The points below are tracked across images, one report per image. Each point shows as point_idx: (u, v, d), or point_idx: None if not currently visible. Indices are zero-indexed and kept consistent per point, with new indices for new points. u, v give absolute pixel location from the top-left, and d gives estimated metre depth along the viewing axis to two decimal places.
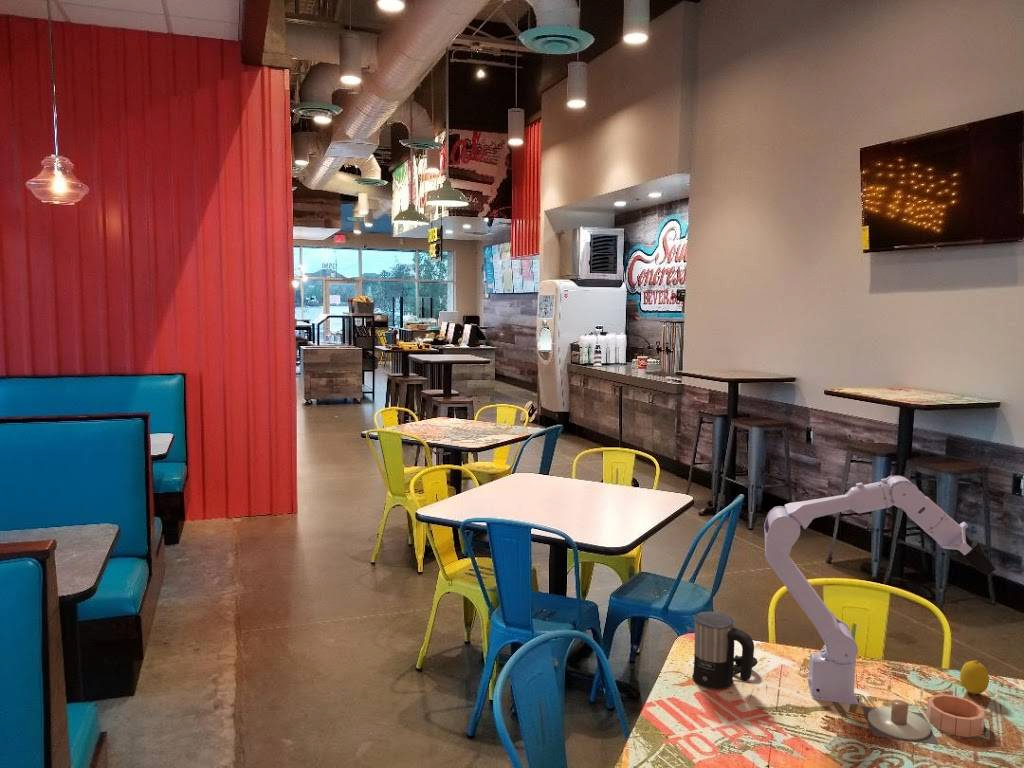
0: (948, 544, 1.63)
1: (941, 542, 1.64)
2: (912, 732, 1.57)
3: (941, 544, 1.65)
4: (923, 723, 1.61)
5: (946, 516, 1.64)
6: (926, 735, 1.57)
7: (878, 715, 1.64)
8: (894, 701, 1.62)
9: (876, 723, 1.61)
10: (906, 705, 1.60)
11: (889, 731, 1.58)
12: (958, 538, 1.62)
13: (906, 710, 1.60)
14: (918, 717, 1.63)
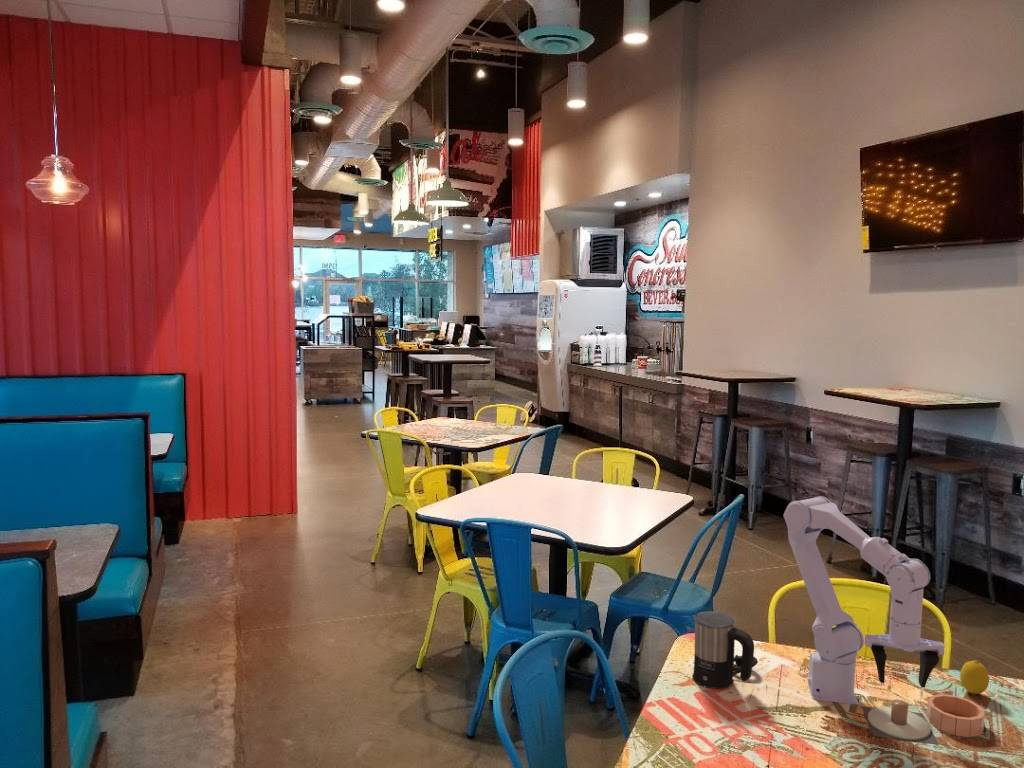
0: (888, 635, 1.62)
1: None
2: (912, 732, 1.57)
3: None
4: (923, 723, 1.61)
5: (900, 625, 1.57)
6: (926, 735, 1.57)
7: (878, 715, 1.64)
8: (894, 701, 1.62)
9: (876, 723, 1.61)
10: (906, 705, 1.60)
11: (889, 731, 1.58)
12: (888, 641, 1.60)
13: (906, 710, 1.60)
14: (918, 717, 1.63)
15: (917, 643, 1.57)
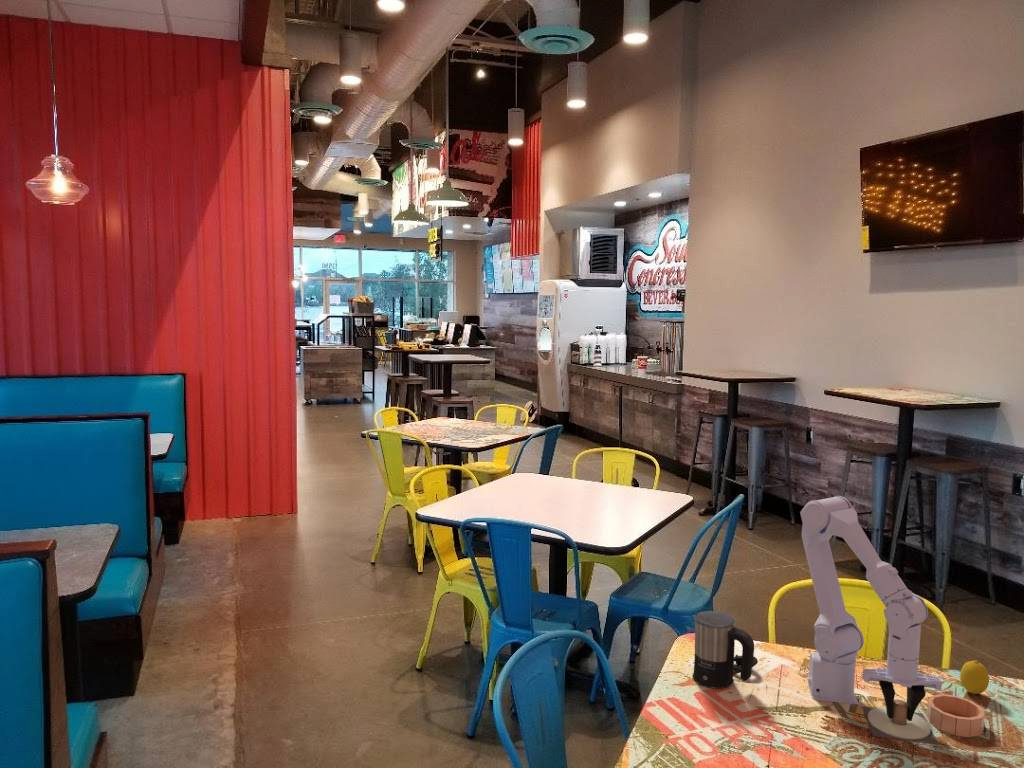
0: (886, 670, 1.62)
1: None
2: (912, 732, 1.57)
3: None
4: (923, 723, 1.61)
5: (898, 660, 1.58)
6: (926, 735, 1.57)
7: (878, 715, 1.64)
8: (894, 701, 1.62)
9: (876, 723, 1.61)
10: (906, 705, 1.60)
11: (889, 731, 1.58)
12: (886, 675, 1.60)
13: (906, 710, 1.60)
14: (918, 717, 1.63)
15: (915, 678, 1.58)
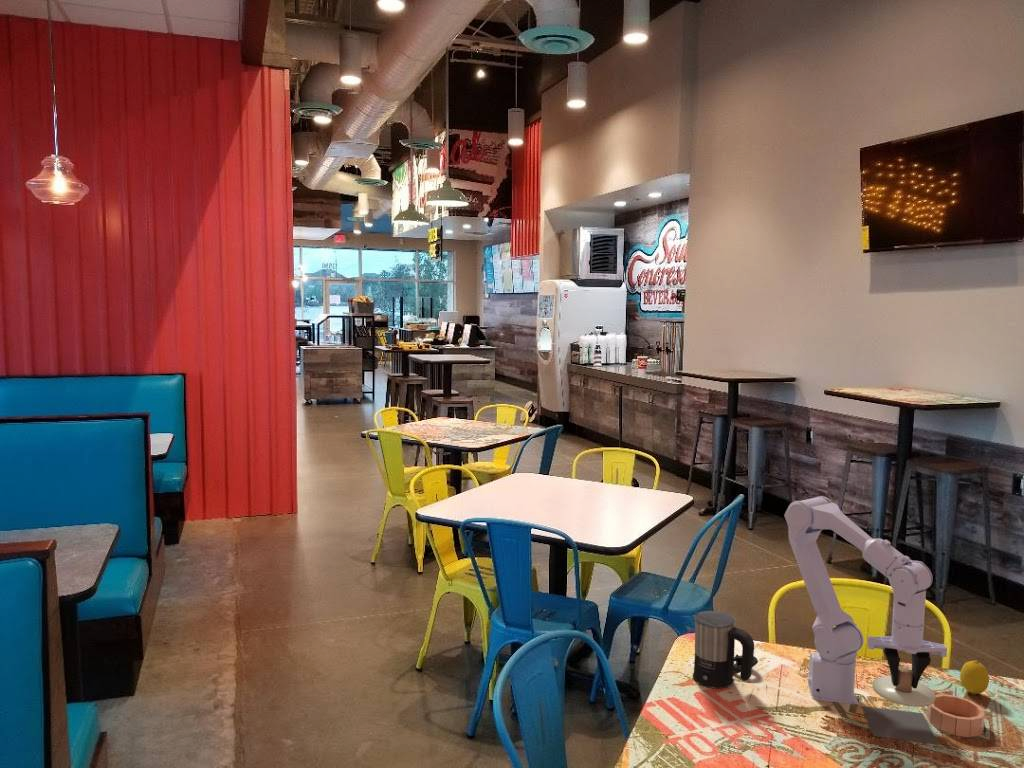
0: (891, 637, 1.62)
1: None
2: (917, 699, 1.56)
3: None
4: (928, 691, 1.60)
5: (902, 627, 1.57)
6: (931, 702, 1.56)
7: (883, 684, 1.63)
8: (899, 669, 1.61)
9: (881, 690, 1.60)
10: (911, 672, 1.59)
11: (894, 698, 1.57)
12: (891, 643, 1.60)
13: (911, 677, 1.59)
14: (923, 685, 1.62)
15: (920, 645, 1.57)
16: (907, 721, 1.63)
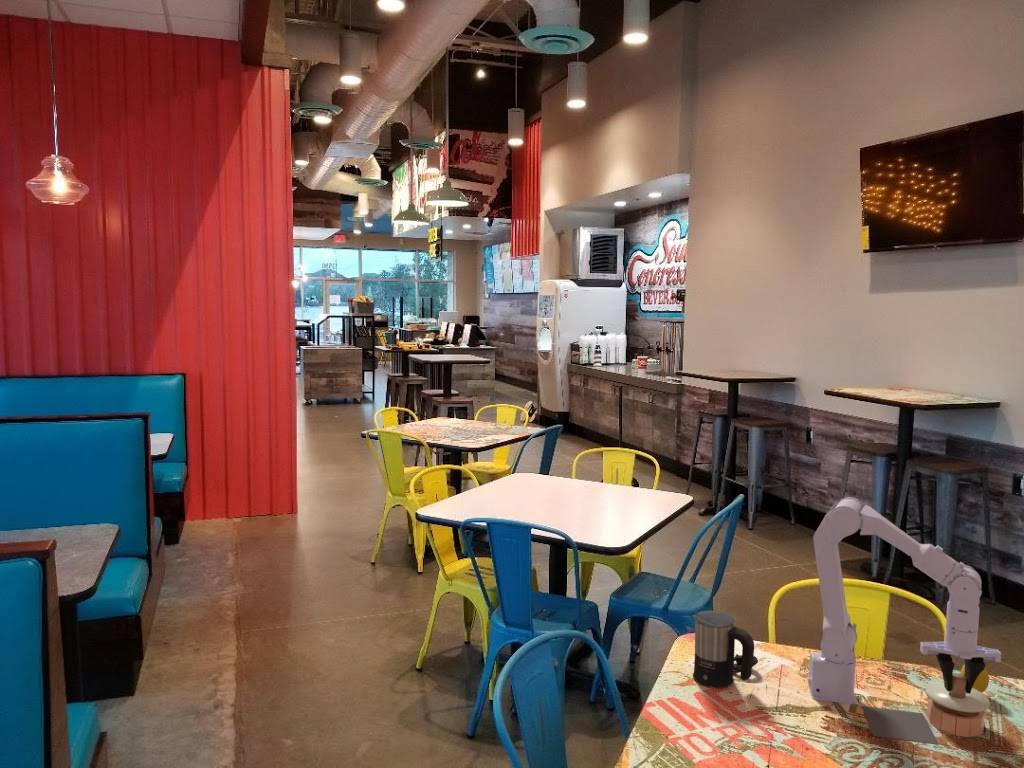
0: (944, 643, 1.62)
1: None
2: (971, 705, 1.57)
3: None
4: (982, 697, 1.61)
5: (957, 633, 1.58)
6: (986, 708, 1.57)
7: (936, 689, 1.64)
8: (952, 674, 1.62)
9: (935, 696, 1.61)
10: (965, 678, 1.60)
11: (948, 704, 1.58)
12: (944, 648, 1.60)
13: (965, 683, 1.60)
14: (976, 691, 1.63)
15: (974, 650, 1.58)
16: (907, 721, 1.63)
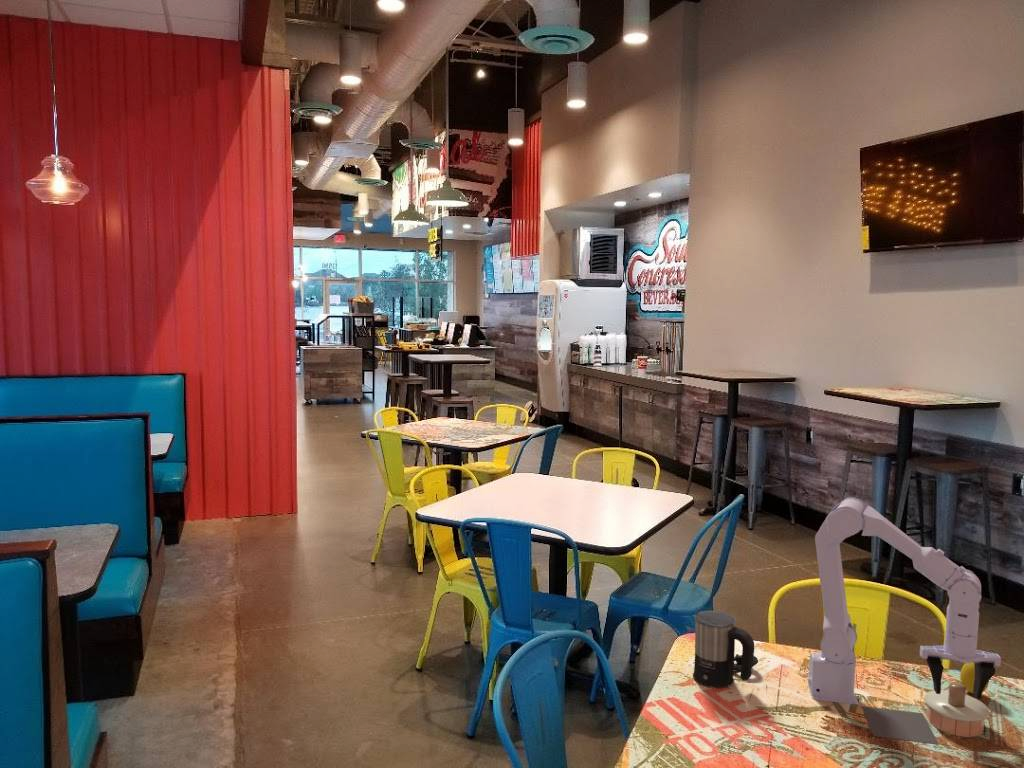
0: (943, 647, 1.63)
1: None
2: (970, 714, 1.57)
3: None
4: (981, 706, 1.61)
5: (957, 637, 1.58)
6: (985, 717, 1.57)
7: (935, 698, 1.64)
8: (951, 683, 1.62)
9: (934, 705, 1.61)
10: (964, 687, 1.60)
11: (947, 713, 1.58)
12: (944, 652, 1.61)
13: (964, 692, 1.60)
14: (975, 700, 1.63)
15: (974, 655, 1.58)
16: (907, 721, 1.63)
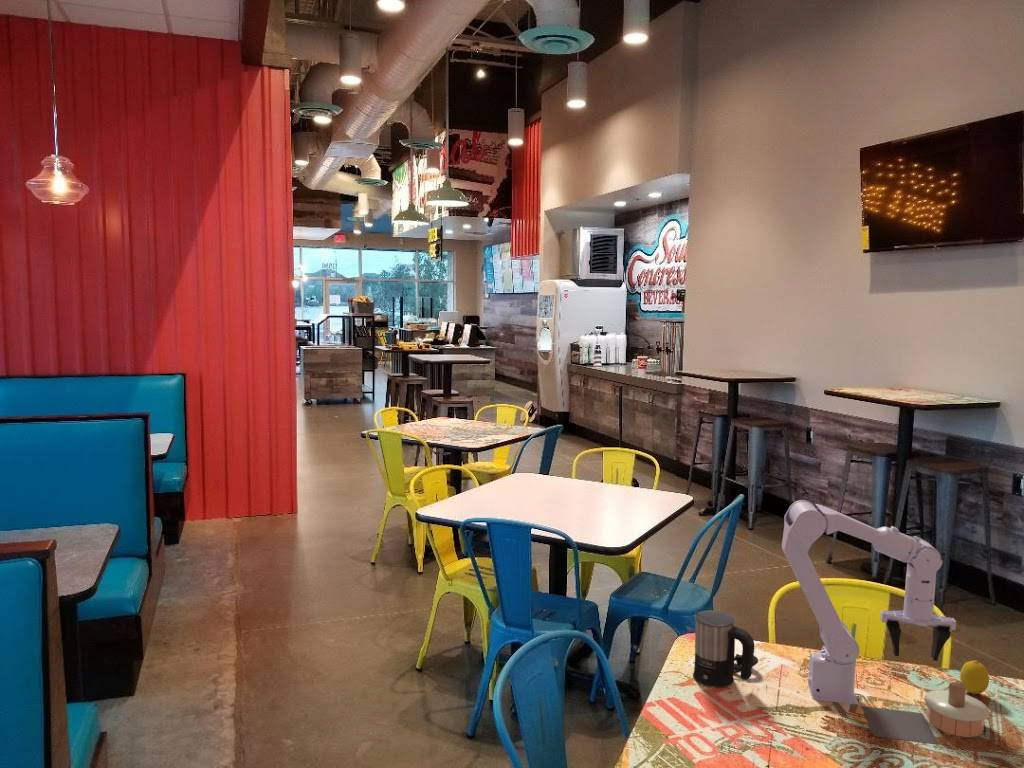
0: (903, 612, 1.72)
1: None
2: (970, 714, 1.57)
3: None
4: (981, 706, 1.61)
5: (914, 601, 1.67)
6: (985, 717, 1.57)
7: (935, 698, 1.64)
8: (951, 683, 1.62)
9: (934, 705, 1.61)
10: (964, 687, 1.60)
11: (947, 713, 1.58)
12: (903, 616, 1.70)
13: (964, 692, 1.60)
14: (975, 700, 1.63)
15: (930, 618, 1.67)
16: (907, 721, 1.63)
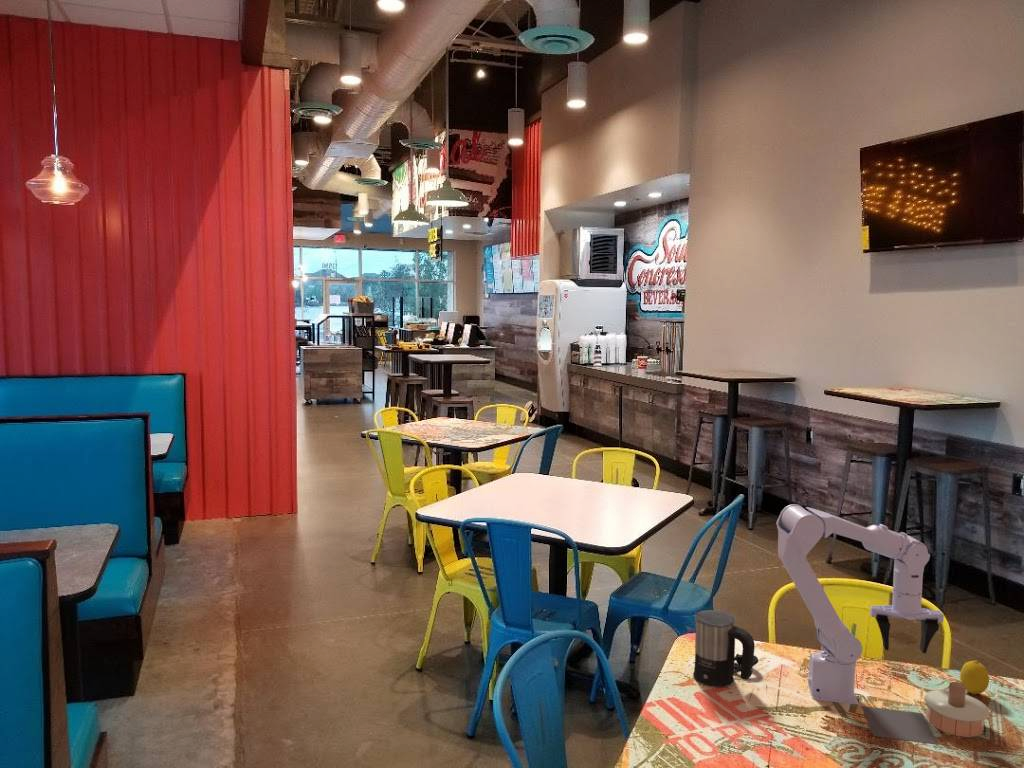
0: (892, 606, 1.75)
1: None
2: (970, 714, 1.57)
3: None
4: (981, 706, 1.61)
5: (902, 596, 1.70)
6: (985, 717, 1.57)
7: (935, 698, 1.64)
8: (951, 683, 1.62)
9: (934, 705, 1.61)
10: (964, 687, 1.60)
11: (947, 713, 1.58)
12: (891, 611, 1.73)
13: (964, 692, 1.60)
14: (975, 700, 1.63)
15: (918, 612, 1.70)
16: (907, 721, 1.63)
